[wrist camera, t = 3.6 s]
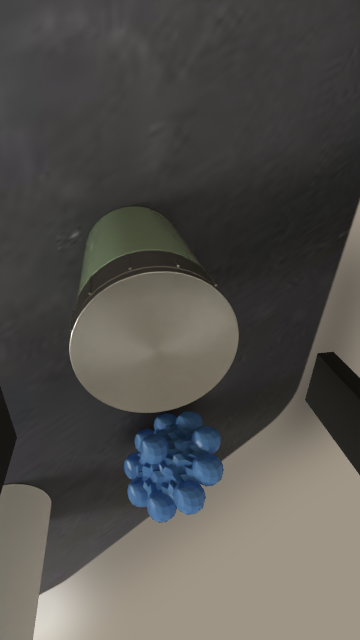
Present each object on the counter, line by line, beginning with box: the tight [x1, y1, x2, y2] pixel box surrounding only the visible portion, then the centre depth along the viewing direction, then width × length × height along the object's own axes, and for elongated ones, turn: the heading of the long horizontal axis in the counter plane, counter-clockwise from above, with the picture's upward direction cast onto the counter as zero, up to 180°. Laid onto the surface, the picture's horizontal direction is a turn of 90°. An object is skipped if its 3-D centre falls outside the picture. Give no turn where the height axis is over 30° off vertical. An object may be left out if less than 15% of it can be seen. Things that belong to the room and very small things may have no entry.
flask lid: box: [69, 250, 239, 413], centre depth 18 cm, size 8×8×3 cm
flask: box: [77, 206, 205, 300], centre depth 23 cm, size 8×8×14 cm
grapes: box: [124, 411, 223, 523], centre depth 33 cm, size 12×7×12 cm, turn 127°
